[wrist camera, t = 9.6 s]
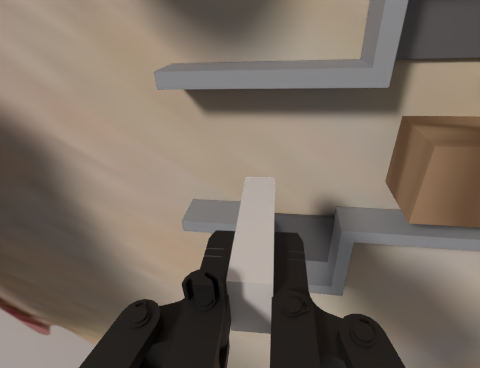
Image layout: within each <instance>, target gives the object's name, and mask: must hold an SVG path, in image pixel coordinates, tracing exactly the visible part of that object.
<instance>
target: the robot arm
mask: <svg viewBox="0 0 480 368" xmlns="http://www.w3.org/2000/svg"><path fill="white" fill-rule="evenodd" d="M274 204H275V177H245V183H244V188H243V193H242V199H241V204H240V209H239V215H238V220H237V225H236V231H224V230H216V231H215V232H214V233H213V234H212V235H211V237H210V238H209V240H208V244H207V247H206V251H205V254H204V257H203V261H202V264H201V268H200V269H199V270H196V271H194V272H191V273H190V274H189V275H188V276H187V277H185V279H184V281H183V282H182V288H183V292H184V296H185V298H184V299H182V300H181V301H178V302H175V303H171V304H167V305H163V306H158V304H157V303H156V302H154V301H152V300H147V299H143V300H139V301H136V302H134V303H132V304H130V305H129V306H128V307H127V308H126V309H125V310H124V311H123V312H122V313H121V314H120V315H119V317H118V318H117V319H116V321H115V322H114V323H113V324H112V326H111V327H110V328H109V330H108V331H107V332H106V333H105V335H104V336H103V337H102V339H101V340H100V341H99V342H98V344H97V345H96V346H95V348H94V349H93V350H92V352H91V353H90V354H89V355H88V357H87V358H86V359H85V361H84V362H83V363H82V364H81V366H80V367H79V368H227V362H228V354H229V347H230V346H229V333H230V326H231V330H233V331H245V332H257V333H269V334H271V349H270V368H405V366H404V364H403V363H402V361H401V359H400V357H399V356H398V354H397V352H396V350H395V349H394V347H393V345H392V344H391V342H390V340H389V338H388V337H387V335H386V333H385V332H384V330H383V329H382V328H381V326H380V325H379V324H378V323H377V322H376V321H374V320H373V319H371V318H370V317H367V316H365V315H362V314H350V315H347V316H345V317H344V318H343V319H342V318H340V317H337V316H334V315H332V314H329V313H327V312H325V311H323V310H321V309H320V308H319V307H317V305H316V304H315V303H314V302H313V301H312V299H311V297H310V294H309V288H308V279H307V270H306V261H305V253H304V243H303V240H302V239H301V237H300V236H299V234H298V233H291V232H274Z"/></svg>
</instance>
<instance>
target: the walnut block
mask: <svg viewBox="0 0 480 368" xmlns="http://www.w3.org/2000/svg"><path fill="white" fill-rule="evenodd" d="M385 182H386V184H387V185H388V187H389V189H390V191H391V193H392V194H393V196H394V198H395V200H396V202H397V203H398V205H399V207H400V209H401V211H402V212H403V214H404V216H405V218H406V220H407V221H408V223H411V224H428V225H444V226H461V227H478V228H480V117H454V116H402V120H401V124H400V128H399V132H398V135H397V139H396V143H395V147H394V151H393V154H392V158H391V162H390V166H389V170H388V173H387V177H386V181H385Z"/></svg>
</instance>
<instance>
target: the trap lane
mask: <svg viewBox="0 0 480 368" xmlns="http://www.w3.org/2000/svg"><path fill="white" fill-rule="evenodd" d="M478 57H480V0H370V5H369V11H368V17H367V23H366V29H365V35H364V41H363V47H362V53H361V59H353V60H309V61H264V62H219V63H175V64H170V65H168V66H166V67H163V68H161V69H159V70H157V71H155V72H154V75H155V81H156V86H157V90H164V89H284V88H389V85H390V80H391V76H392V71H393V67H394V62H395V59H433V58H478ZM240 204H241V202H235V201H215V200H196V199H193V200H192V202H191V204H190V206H189V208H188V210H187V212H186V214H185V216H184V218H183V220H182V224H183V229H184V231H193V232H208V233H214V232H215V231H216V230H224V231H236V225H237V220H238V215H239V209H240ZM274 232H291V233H298V234H299V236H300V237H301V239H302V240H303V243H304V253H305V261H306V270H307V279H308V288H309V293H318V294H329V295H339V296H342V294H343V290H344V285H345V281H346V276H347V272H348V268H349V263H350V259H351V254H352V250H353V245H354V243H368V244H383V245H397V246H412V247H426V248H441V249H456V250H470V251H480V228H478V227H461V226H444V225H428V224H411V223H408V221H407V220H406V218H405V216H404V214H403V212H402V211H401V210H391V209H371V208H352V207H336V210H335V216H316V215H298V214H281V213H274Z"/></svg>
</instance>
